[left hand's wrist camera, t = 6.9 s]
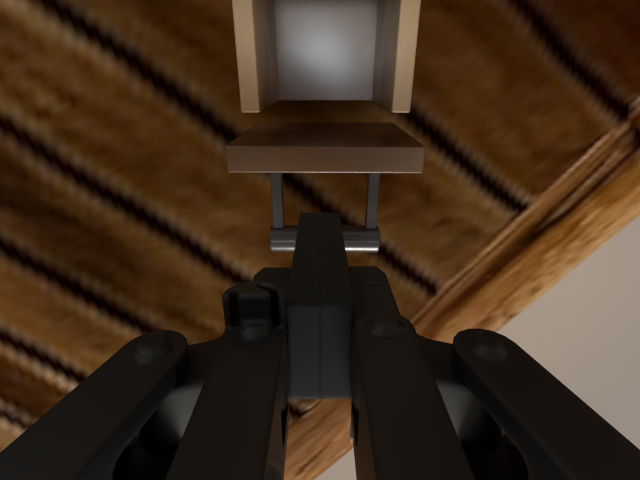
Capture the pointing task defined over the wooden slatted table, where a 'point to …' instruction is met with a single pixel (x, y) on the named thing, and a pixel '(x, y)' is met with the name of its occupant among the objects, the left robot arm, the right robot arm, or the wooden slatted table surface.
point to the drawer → (326, 96)
